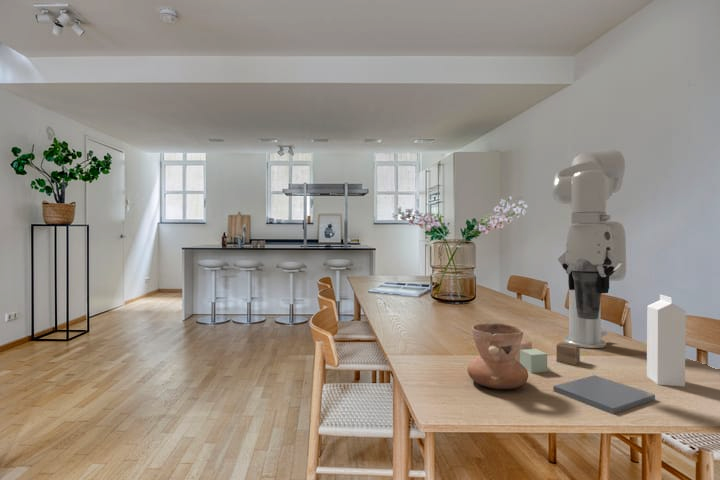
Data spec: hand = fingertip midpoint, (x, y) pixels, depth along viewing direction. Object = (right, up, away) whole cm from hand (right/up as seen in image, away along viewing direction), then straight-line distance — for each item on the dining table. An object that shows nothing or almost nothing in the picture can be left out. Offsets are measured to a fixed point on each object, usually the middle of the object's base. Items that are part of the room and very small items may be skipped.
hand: (588, 290), depth 100 cm
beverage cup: (0, -7, 0) cm, 7 cm away
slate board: (0, -24, -7) cm, 25 cm away
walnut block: (+5, -23, +18) cm, 30 cm away
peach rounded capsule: (-10, -23, +18) cm, 31 cm away
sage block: (-9, -24, +11) cm, 28 cm away
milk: (+21, -24, +2) cm, 32 cm away
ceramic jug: (-23, -24, +1) cm, 33 cm away
